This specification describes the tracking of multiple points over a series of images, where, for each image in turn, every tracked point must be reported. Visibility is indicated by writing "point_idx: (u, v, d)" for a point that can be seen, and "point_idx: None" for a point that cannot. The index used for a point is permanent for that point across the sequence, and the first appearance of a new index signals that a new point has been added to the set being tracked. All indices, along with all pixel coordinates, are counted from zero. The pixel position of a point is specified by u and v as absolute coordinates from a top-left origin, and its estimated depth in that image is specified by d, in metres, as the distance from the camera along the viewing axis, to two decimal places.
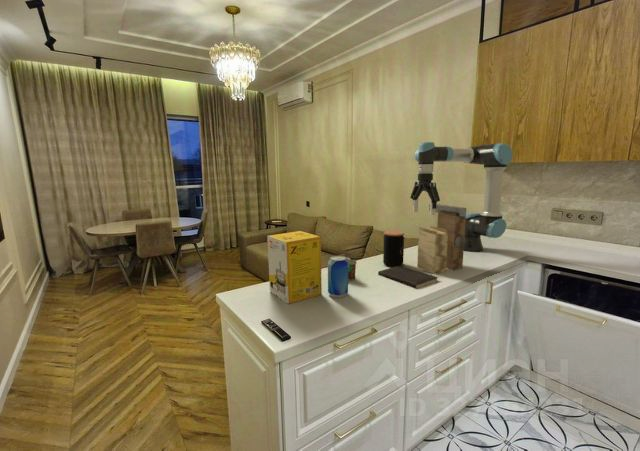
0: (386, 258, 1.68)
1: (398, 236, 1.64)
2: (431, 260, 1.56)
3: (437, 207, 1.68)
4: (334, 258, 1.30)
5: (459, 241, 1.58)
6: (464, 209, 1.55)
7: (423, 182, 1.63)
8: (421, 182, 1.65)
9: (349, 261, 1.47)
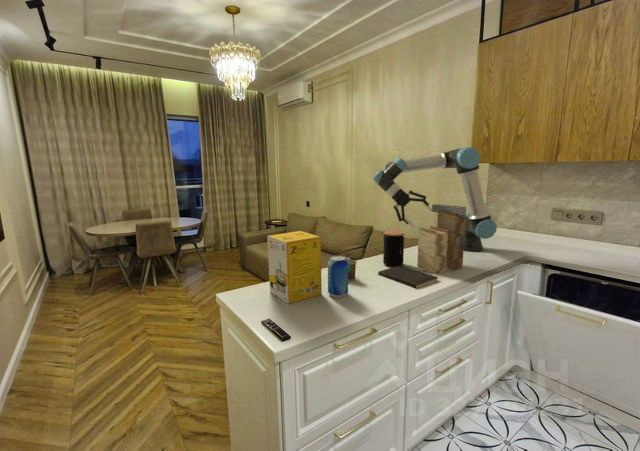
0: (386, 258, 1.68)
1: (398, 236, 1.64)
2: (431, 260, 1.56)
3: (439, 207, 1.68)
4: (334, 258, 1.30)
5: (459, 241, 1.58)
6: (463, 208, 1.54)
7: None
8: None
9: (349, 261, 1.47)
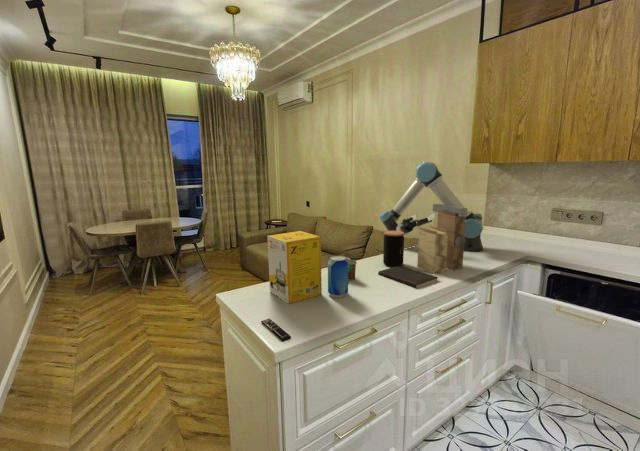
0: (386, 258, 1.68)
1: (398, 236, 1.64)
2: (431, 260, 1.56)
3: (440, 207, 1.68)
4: (334, 258, 1.30)
5: (459, 241, 1.58)
6: (465, 209, 1.54)
7: None
8: None
9: (349, 261, 1.47)
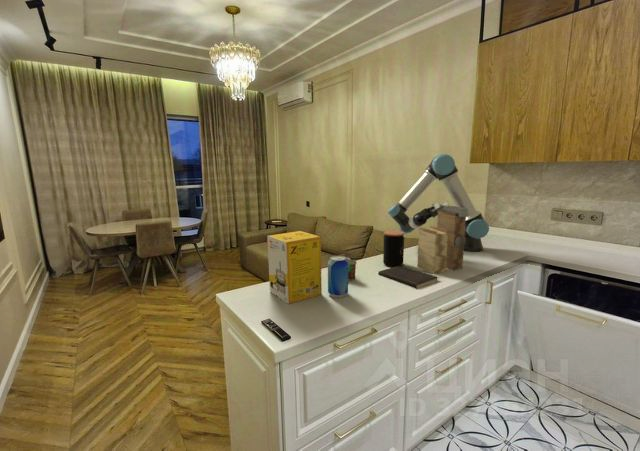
0: (386, 258, 1.68)
1: (398, 236, 1.64)
2: (431, 260, 1.56)
3: None
4: (334, 258, 1.30)
5: (459, 241, 1.58)
6: (465, 209, 1.54)
7: None
8: None
9: (349, 261, 1.47)
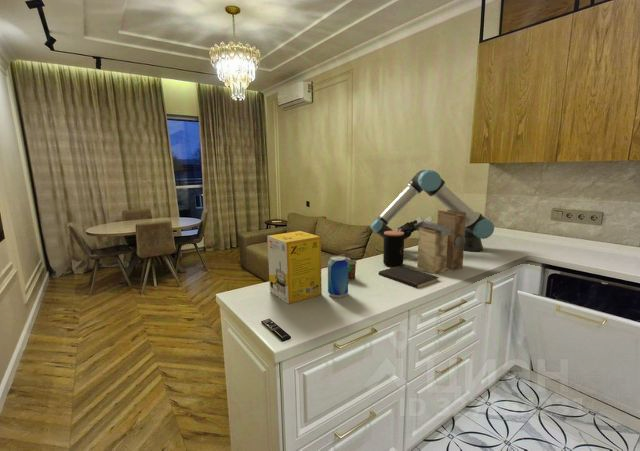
0: (386, 258, 1.68)
1: (398, 236, 1.64)
2: (431, 260, 1.56)
3: (422, 224, 1.63)
4: (334, 258, 1.30)
5: (459, 241, 1.58)
6: (448, 228, 1.50)
7: None
8: None
9: (349, 261, 1.47)
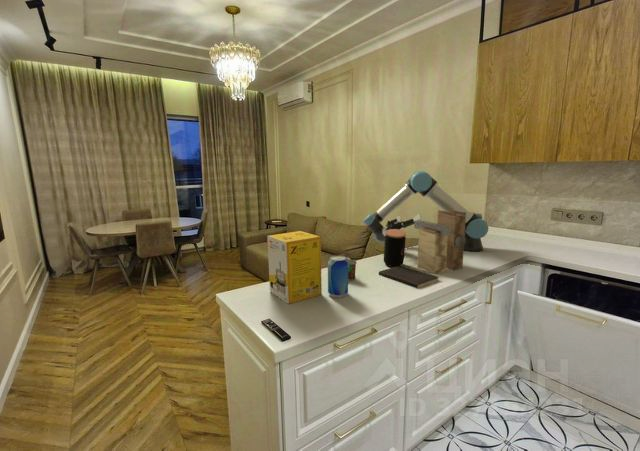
0: (387, 258, 1.67)
1: (400, 238, 1.61)
2: (431, 260, 1.56)
3: (422, 224, 1.63)
4: (334, 258, 1.30)
5: (459, 241, 1.58)
6: (448, 228, 1.50)
7: None
8: None
9: (349, 261, 1.47)
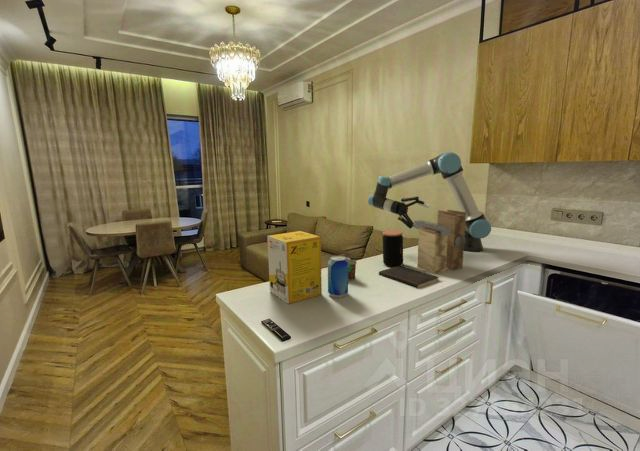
0: (386, 258, 1.67)
1: (397, 236, 1.63)
2: (431, 260, 1.56)
3: (422, 224, 1.63)
4: (334, 258, 1.30)
5: (459, 241, 1.58)
6: (448, 228, 1.50)
7: None
8: None
9: (349, 261, 1.47)
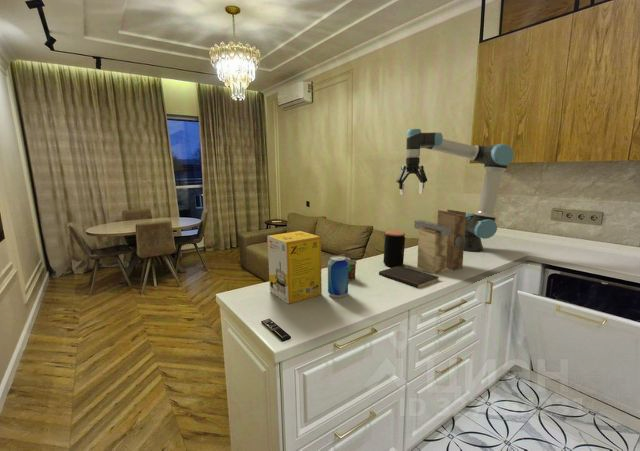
0: (387, 258, 1.67)
1: (400, 236, 1.63)
2: (431, 260, 1.56)
3: (422, 224, 1.63)
4: (334, 258, 1.30)
5: (459, 241, 1.58)
6: (448, 228, 1.50)
7: None
8: None
9: (349, 261, 1.47)
